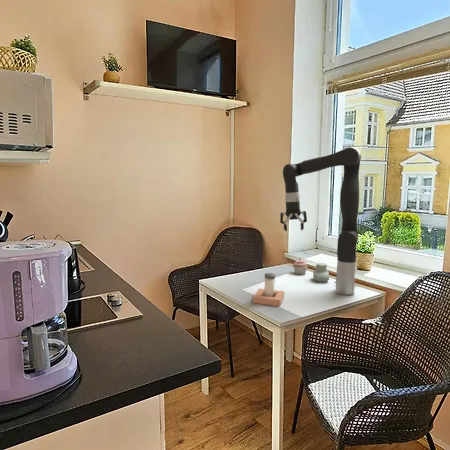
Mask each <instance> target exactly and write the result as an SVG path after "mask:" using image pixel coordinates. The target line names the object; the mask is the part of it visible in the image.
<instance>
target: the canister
mask: <svg viewBox="0 0 450 450" xmlns="http://www.w3.org/2000/svg"><path fill="white" fill-rule="evenodd" d="M275 280H276V274H275V273H272V272H268V273H267V272H266V273H264V289H265V291H264V296H269V297H274V290H275Z"/></svg>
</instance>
